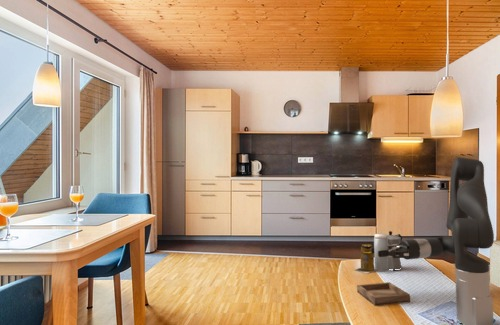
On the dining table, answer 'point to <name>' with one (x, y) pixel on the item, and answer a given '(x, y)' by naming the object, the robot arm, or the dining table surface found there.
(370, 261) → the condiment
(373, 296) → the tray
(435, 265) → the dining table surface
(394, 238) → the coffeepot
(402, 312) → the dining table surface
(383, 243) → the salt shaker
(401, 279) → the dining table surface
